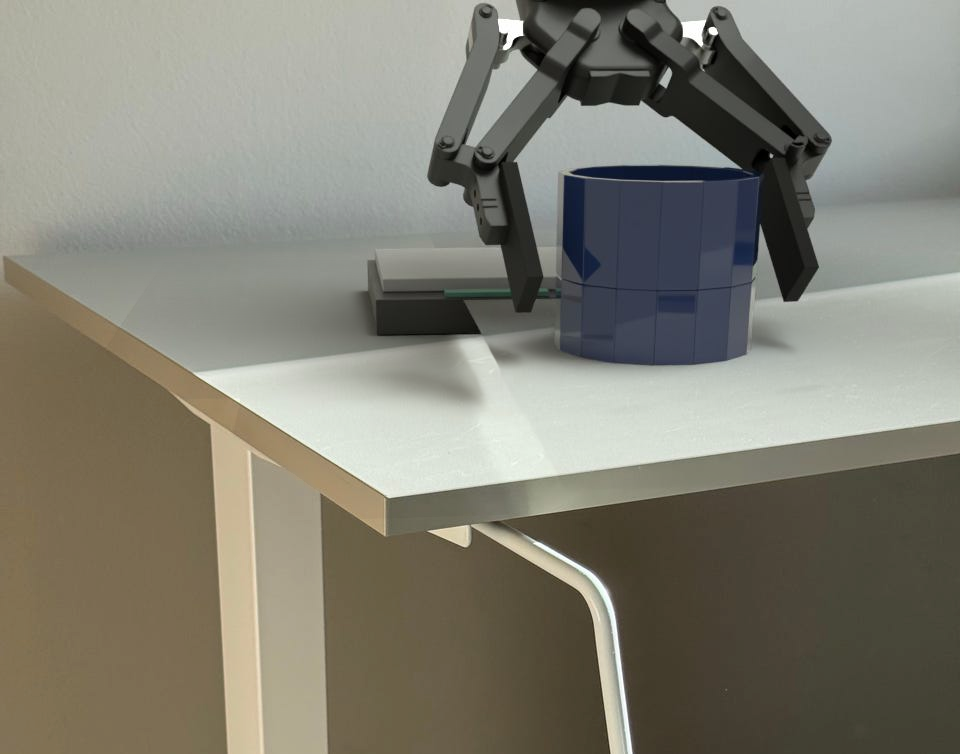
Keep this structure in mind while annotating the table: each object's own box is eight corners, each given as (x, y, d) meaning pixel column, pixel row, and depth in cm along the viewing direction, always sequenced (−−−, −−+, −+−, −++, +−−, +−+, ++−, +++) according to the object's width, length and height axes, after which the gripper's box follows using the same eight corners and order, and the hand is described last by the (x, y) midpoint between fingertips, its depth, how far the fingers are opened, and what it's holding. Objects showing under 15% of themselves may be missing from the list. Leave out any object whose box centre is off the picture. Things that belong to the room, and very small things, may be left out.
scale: (573, 287, 100) (574, 245, 99) (617, 331, 86) (619, 282, 84) (368, 290, 99) (366, 247, 98) (376, 335, 84) (375, 285, 83)
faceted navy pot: (719, 362, 77) (732, 163, 74) (770, 404, 69) (787, 181, 65) (542, 366, 76) (546, 164, 73) (571, 408, 68) (577, 182, 64)
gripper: (772, 10, 83) (874, 325, 75) (335, 6, 77) (397, 347, 69) (825, -103, 76) (943, 231, 68) (349, -116, 70) (420, 247, 63)
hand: (668, 290), depth 69 cm, fingers open, 13 cm apart
